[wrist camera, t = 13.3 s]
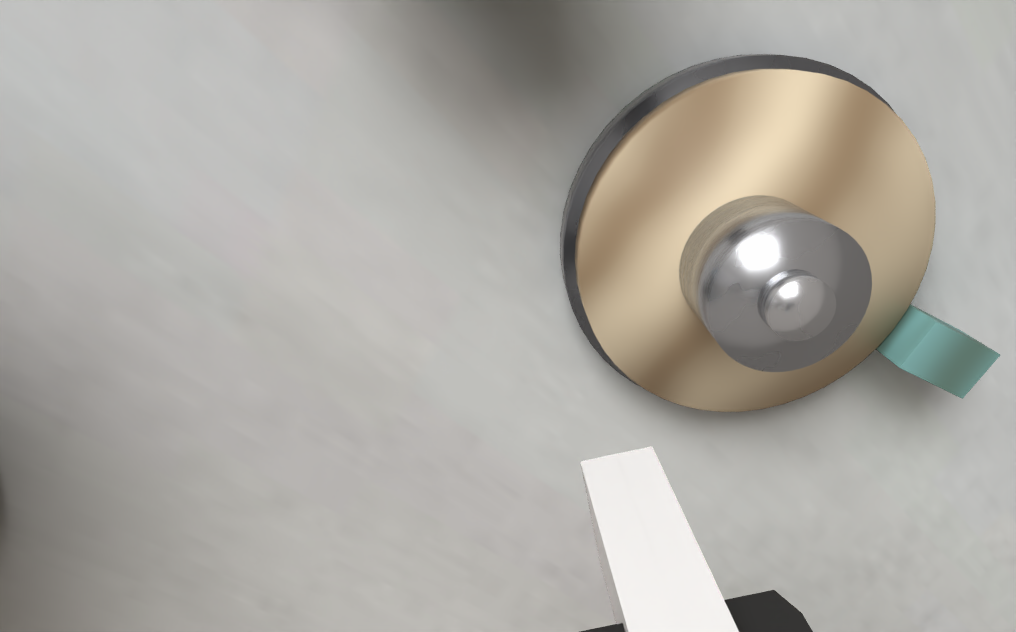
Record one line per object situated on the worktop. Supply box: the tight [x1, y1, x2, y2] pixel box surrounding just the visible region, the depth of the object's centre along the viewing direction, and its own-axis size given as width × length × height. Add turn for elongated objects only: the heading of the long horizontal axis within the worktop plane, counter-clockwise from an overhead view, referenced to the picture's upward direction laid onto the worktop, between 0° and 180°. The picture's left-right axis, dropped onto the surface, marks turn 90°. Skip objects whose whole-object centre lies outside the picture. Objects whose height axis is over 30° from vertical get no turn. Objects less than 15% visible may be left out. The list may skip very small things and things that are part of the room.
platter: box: [575, 69, 1000, 412], centre depth 28 cm, size 19×15×3 cm
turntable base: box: [560, 54, 897, 386], centre depth 29 cm, size 16×16×2 cm
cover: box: [679, 195, 872, 372], centre depth 25 cm, size 6×6×5 cm
